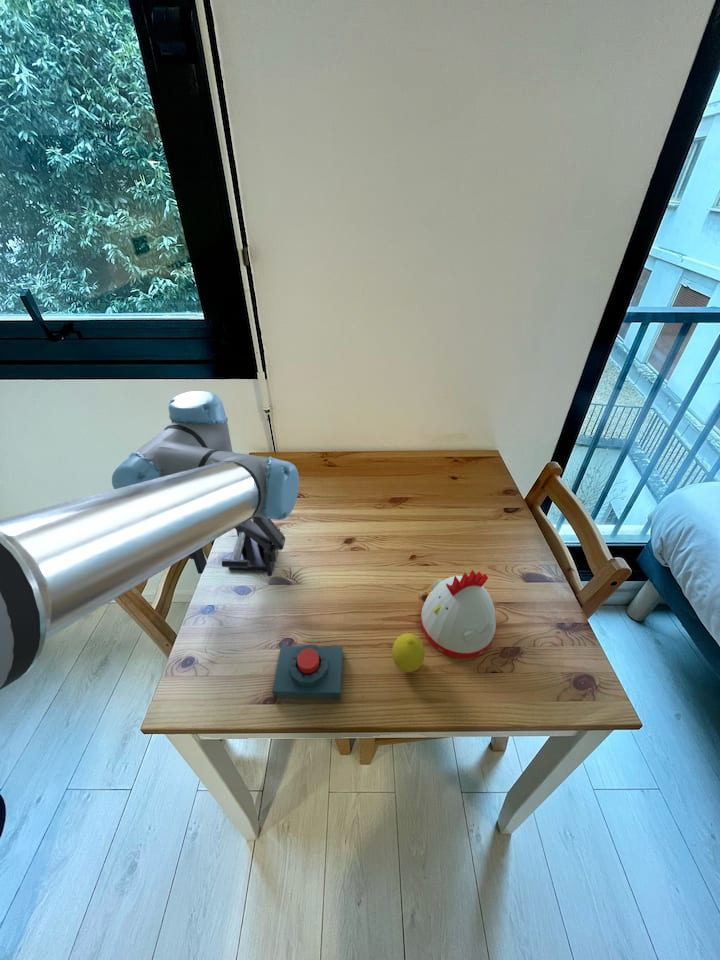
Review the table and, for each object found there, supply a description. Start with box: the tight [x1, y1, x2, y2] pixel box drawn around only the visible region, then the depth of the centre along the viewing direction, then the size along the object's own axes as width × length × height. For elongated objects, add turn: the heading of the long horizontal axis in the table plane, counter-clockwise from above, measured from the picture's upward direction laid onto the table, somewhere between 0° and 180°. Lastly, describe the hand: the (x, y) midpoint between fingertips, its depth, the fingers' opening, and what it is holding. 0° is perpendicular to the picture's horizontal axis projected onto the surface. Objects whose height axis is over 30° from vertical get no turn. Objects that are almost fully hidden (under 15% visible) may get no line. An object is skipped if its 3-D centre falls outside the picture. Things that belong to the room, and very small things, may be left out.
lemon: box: [391, 633, 426, 673], centre depth 70 cm, size 6×6×8 cm
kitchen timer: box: [419, 569, 497, 659], centre depth 74 cm, size 14×14×15 cm
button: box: [297, 648, 319, 674], centre depth 68 cm, size 4×4×2 cm
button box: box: [272, 644, 344, 700], centre depth 69 cm, size 11×8×4 cm
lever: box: [221, 532, 249, 568], centre depth 83 cm, size 14×5×2 cm, turn 178°
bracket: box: [227, 520, 281, 572], centre depth 89 cm, size 12×9×14 cm
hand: (236, 569), depth 80 cm, fingers open, 13 cm apart
